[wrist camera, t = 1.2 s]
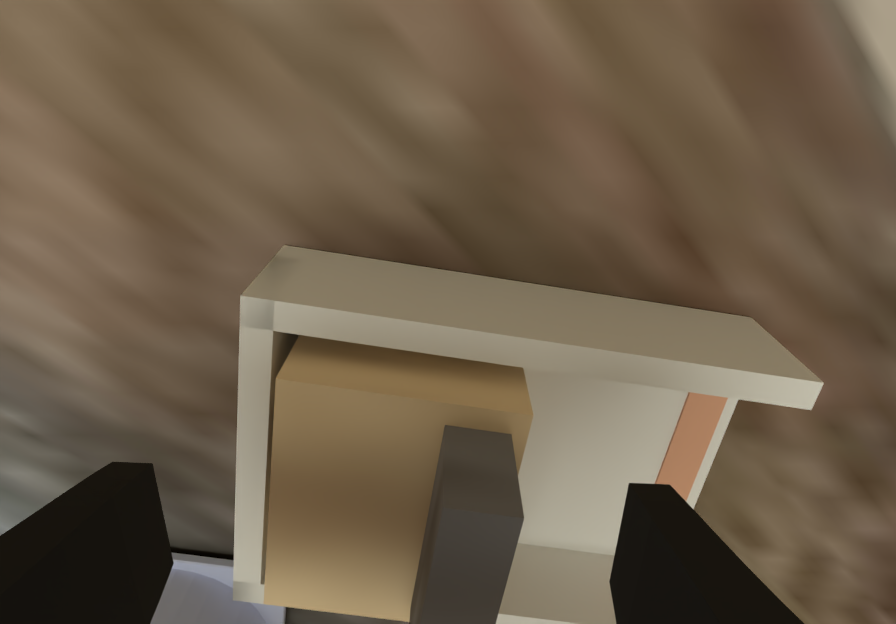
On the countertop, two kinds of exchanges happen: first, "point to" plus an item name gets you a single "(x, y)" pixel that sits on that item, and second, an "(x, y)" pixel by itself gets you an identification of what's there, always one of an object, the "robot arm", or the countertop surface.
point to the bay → (551, 395)
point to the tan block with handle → (394, 483)
